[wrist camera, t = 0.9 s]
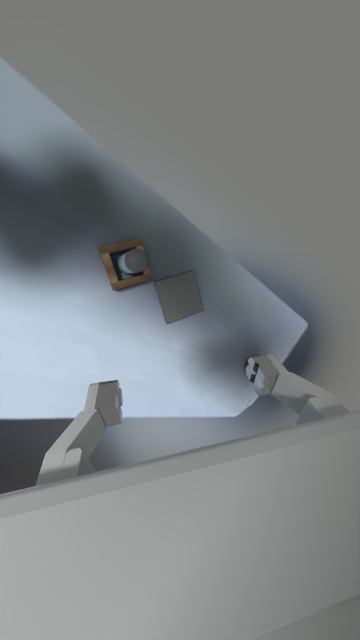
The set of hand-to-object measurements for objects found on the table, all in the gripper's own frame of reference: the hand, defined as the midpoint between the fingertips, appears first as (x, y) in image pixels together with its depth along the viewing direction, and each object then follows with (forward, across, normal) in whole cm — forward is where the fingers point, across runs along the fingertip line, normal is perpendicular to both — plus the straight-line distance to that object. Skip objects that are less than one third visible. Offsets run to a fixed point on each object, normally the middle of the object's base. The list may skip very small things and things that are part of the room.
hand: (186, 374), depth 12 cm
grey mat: (+37, -7, +15) cm, 41 cm away
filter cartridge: (+38, +5, +6) cm, 38 cm away
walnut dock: (+38, +5, +6) cm, 38 cm away
